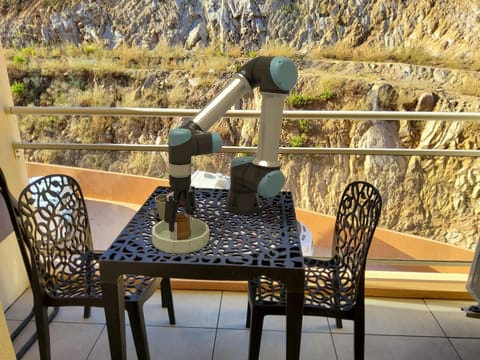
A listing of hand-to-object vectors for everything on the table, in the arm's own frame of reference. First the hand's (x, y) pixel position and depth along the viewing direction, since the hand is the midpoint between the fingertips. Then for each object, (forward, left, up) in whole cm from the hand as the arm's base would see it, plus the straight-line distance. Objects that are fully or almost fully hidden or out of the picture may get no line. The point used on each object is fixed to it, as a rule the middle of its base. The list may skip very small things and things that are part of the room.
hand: (180, 234), depth 139 cm
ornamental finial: (0, 0, -1) cm, 1 cm away
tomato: (-1, -37, -2) cm, 37 cm away
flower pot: (+5, -21, -2) cm, 22 cm away
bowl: (0, 0, -2) cm, 2 cm away
